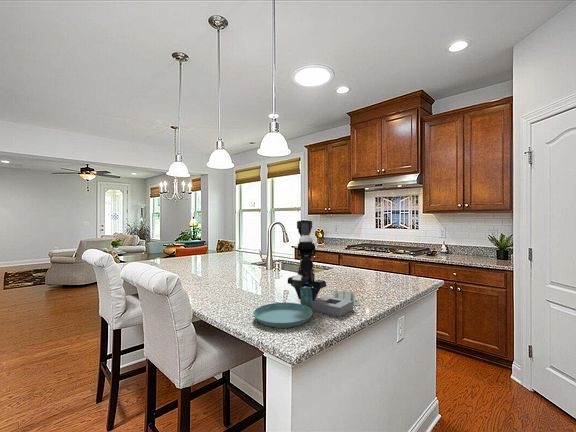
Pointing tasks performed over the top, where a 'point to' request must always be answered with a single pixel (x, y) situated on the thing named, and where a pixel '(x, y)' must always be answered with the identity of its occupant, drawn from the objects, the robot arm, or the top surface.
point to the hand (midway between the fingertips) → (306, 300)
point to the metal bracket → (346, 296)
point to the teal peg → (306, 296)
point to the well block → (332, 306)
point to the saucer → (282, 314)
